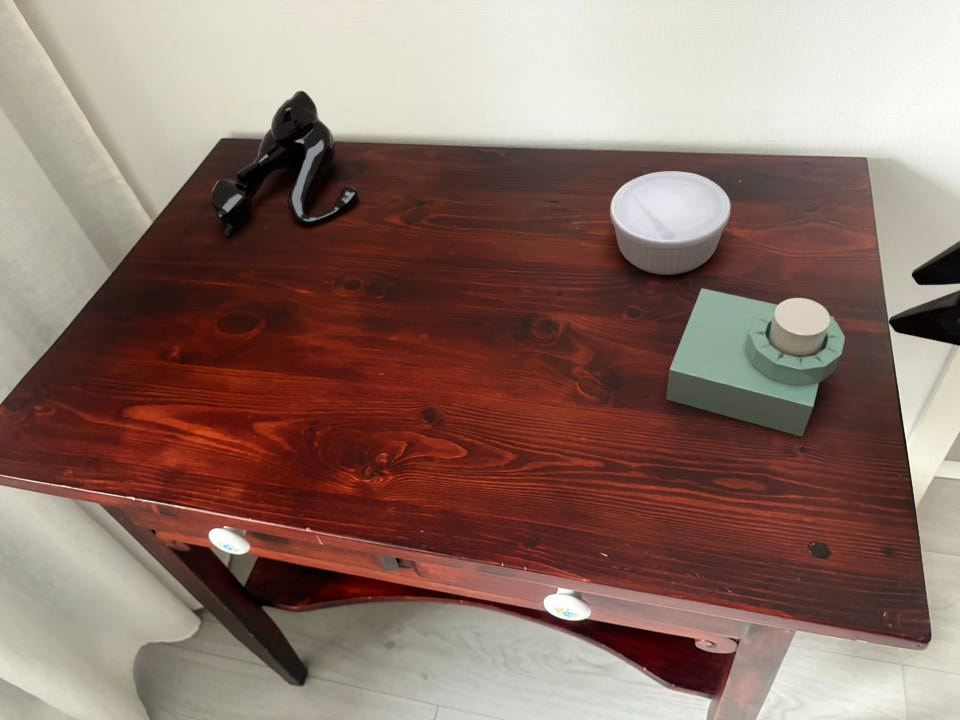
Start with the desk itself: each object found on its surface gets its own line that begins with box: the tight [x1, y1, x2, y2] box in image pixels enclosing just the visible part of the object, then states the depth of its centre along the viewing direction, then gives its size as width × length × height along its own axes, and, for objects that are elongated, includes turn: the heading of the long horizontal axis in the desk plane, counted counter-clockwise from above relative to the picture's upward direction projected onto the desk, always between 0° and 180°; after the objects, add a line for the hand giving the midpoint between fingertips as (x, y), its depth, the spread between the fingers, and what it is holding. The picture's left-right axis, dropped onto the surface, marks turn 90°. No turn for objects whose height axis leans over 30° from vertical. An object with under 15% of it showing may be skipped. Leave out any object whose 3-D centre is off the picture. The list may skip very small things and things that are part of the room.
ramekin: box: [609, 170, 732, 276], centre depth 74 cm, size 11×11×5 cm
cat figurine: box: [210, 90, 359, 238], centre depth 87 cm, size 10×14×18 cm
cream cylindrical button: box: [769, 297, 831, 357], centre depth 58 cm, size 4×4×2 cm
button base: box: [665, 287, 846, 438], centre depth 62 cm, size 12×10×6 cm
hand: (903, 301), depth 51 cm, fingers open, 5 cm apart
